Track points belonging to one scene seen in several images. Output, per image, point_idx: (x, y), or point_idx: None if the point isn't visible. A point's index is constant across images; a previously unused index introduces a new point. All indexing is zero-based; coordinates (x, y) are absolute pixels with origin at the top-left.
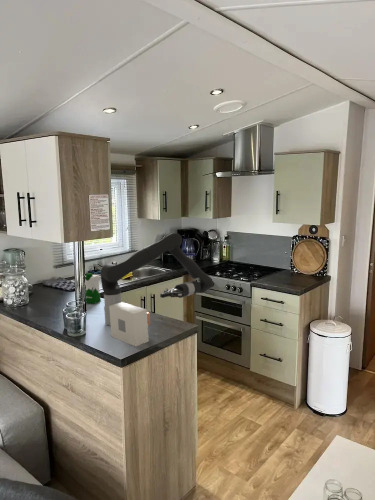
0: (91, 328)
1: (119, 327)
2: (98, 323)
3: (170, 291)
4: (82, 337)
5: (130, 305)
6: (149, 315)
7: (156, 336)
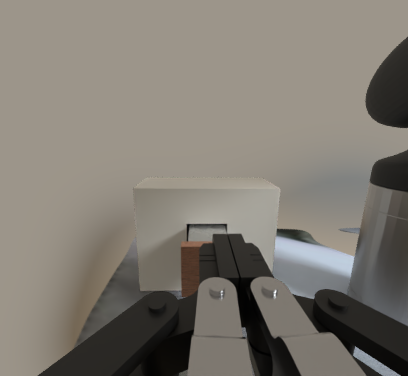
0: (345, 257)
1: None
2: None
3: (233, 337)
4: (286, 235)
5: (220, 187)
6: (181, 257)
7: None
